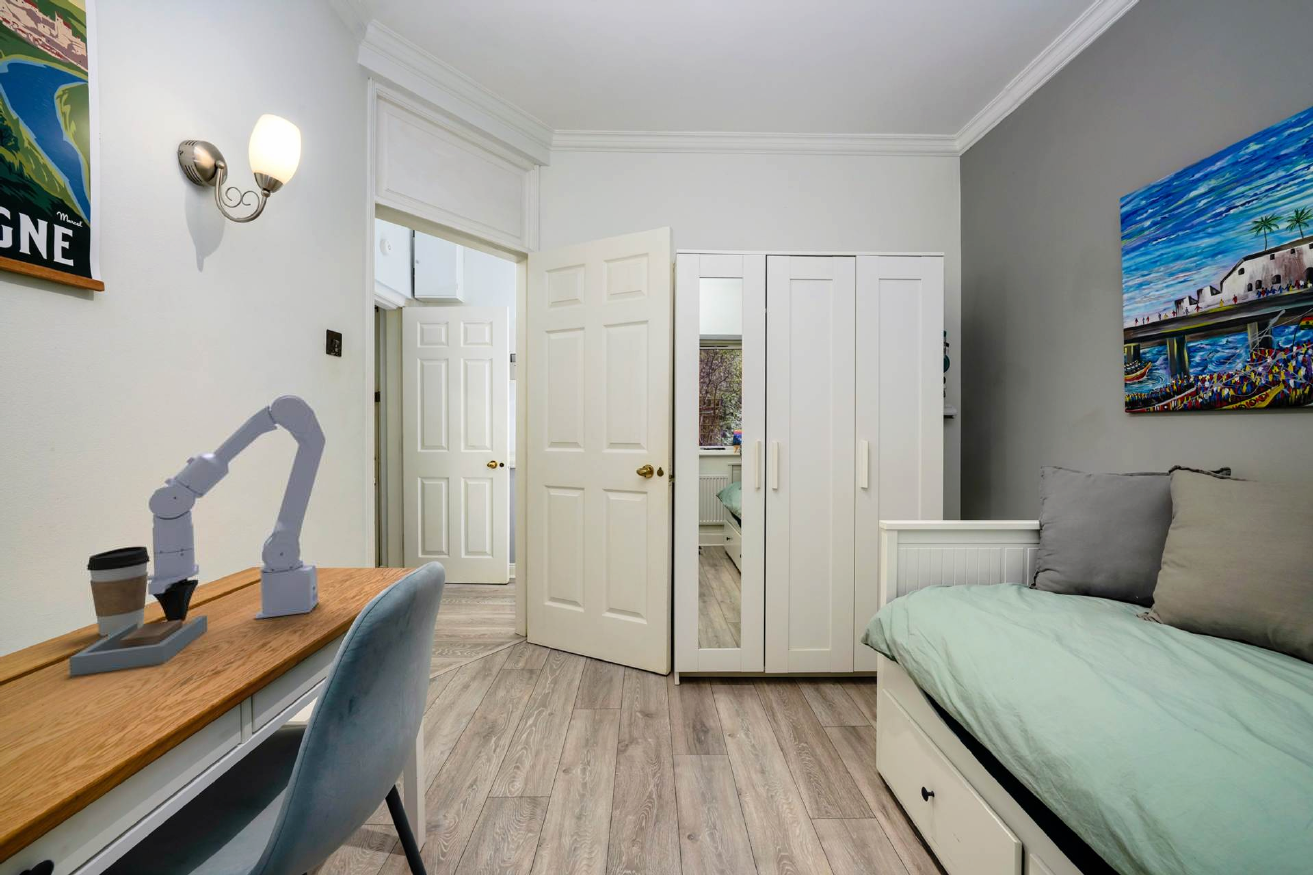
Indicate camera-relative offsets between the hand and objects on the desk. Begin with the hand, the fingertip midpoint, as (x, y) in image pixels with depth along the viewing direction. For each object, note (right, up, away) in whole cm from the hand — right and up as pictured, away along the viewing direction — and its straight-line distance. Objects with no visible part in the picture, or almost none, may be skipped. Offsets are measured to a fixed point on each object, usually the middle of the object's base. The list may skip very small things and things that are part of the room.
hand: (176, 621), depth 101 cm
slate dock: (+4, -1, -10) cm, 10 cm away
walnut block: (+4, -2, -9) cm, 10 cm away
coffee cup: (-11, -2, 0) cm, 11 cm away
